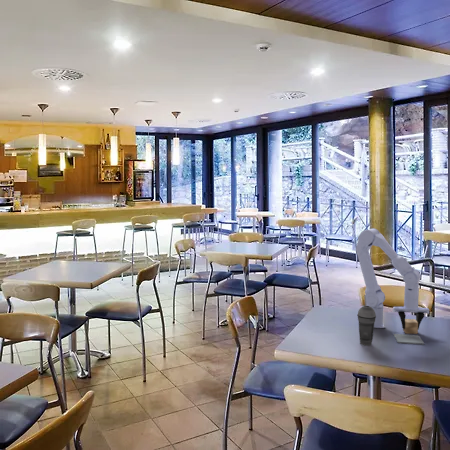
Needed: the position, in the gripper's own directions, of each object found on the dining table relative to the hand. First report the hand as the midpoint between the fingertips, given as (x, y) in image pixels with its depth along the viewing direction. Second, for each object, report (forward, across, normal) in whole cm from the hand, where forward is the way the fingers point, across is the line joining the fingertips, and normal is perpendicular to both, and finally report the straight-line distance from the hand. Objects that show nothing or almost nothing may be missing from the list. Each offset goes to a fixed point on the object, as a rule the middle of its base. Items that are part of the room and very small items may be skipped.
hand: (410, 328), depth 204 cm
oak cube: (+1, 0, 0) cm, 1 cm away
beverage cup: (+2, -21, -19) cm, 28 cm away
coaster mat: (+1, -3, -11) cm, 11 cm away
